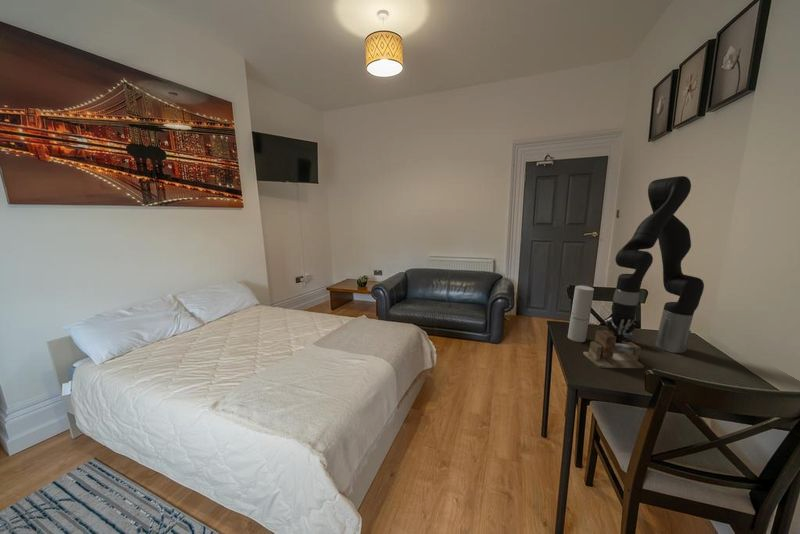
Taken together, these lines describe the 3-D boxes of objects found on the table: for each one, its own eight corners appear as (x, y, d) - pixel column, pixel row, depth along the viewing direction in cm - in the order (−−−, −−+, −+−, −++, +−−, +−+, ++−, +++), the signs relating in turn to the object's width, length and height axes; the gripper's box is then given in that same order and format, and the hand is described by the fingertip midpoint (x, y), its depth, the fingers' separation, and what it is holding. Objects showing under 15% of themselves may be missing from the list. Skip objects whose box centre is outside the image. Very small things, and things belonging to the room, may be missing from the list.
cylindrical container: (580, 335, 135) (588, 285, 129) (588, 342, 128) (597, 290, 123) (564, 334, 136) (572, 285, 130) (572, 341, 129) (580, 289, 123)
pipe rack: (623, 354, 118) (626, 338, 117) (643, 368, 108) (647, 351, 107) (583, 353, 118) (585, 338, 117) (599, 367, 109) (602, 350, 107)
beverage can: (616, 343, 128) (621, 318, 125) (611, 336, 134) (616, 313, 132) (633, 346, 125) (638, 321, 123) (627, 338, 132) (632, 315, 129)
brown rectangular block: (601, 351, 116) (605, 330, 114) (612, 359, 110) (616, 337, 108) (592, 351, 116) (596, 330, 114) (602, 359, 110) (607, 337, 108)
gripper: (634, 298, 111) (626, 338, 115) (601, 297, 111) (594, 337, 115) (651, 304, 104) (641, 347, 108) (615, 304, 104) (607, 346, 108)
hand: (617, 342), depth 112 cm, fingers closed
